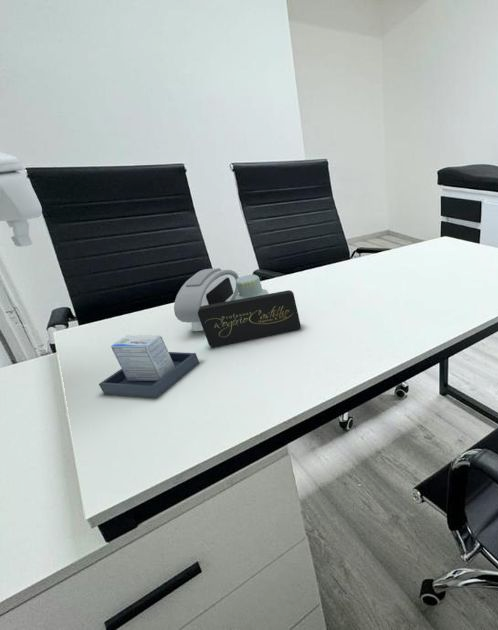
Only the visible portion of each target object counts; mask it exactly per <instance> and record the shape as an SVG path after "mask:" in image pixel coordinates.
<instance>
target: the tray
mask: <svg viewBox="0 0 498 630" xmlns="http://www.w3.org/2000/svg"><path fill="white" fill-rule="evenodd" d="M168 352H169V354H170V357H171V359H172V361H173V363H174V366H175V368H174V369H173V370H171V371H170V372H169V373H167V374H166V375H165V376H164V377H162V378H161V379H160V380H158V381H128V380H127V378H126V376H125V374H124V372H123V370H122V368H119V370H118V371H116V372H114V373H113V374H111V375H110V376H108V377H107V378H105V379H104V380H103V381H100V383H98V386H99V388H100V389H101V392H102V393H103V394H104V395H109V396H110V395H111V396H122V397H137V398H149V399H158V398H159V397H160V396H161V395H163V393H165V392H166V391H167V390H168V389H170V388H171V387H172V386H173V385H174V384H176V383H177V382H178V381H179V380H181V379H182V378H183V377H184V376H185V375H187V374H188V373H189V372H191V370H192V369H194V368H196V367H197V366H198V364H200V361H199V358H198V356H197V353H196V352H178V351H168Z"/></svg>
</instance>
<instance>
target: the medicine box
mask: <svg viewBox="0 0 498 630" xmlns="http://www.w3.org/2000/svg"><path fill="white" fill-rule="evenodd" d="M110 348H111V350H112V352H113V355H114V356H115V358H116V360H117V362H118V364H119V367H120V369H122V370H123V372H124V374H125V376H126V378H127V380H128V381H158V380H160V379H161V378H162V377H164V376H165V375H166V374H167V373H169V372H170V371H171V370H173V369H174V368H175V366H174V363H173V361H172V359H171V357H170V354H169V352H170V351H169V350H168V348H167V345H166V343H165V341H164V338H163V336H162V335H160V334H128V335H125V336H124V337H122V338H120V339H119V340H117V341H115V342H114V343H113V344H112V345H110Z"/></svg>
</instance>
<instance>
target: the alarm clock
mask: <svg viewBox="0 0 498 630" xmlns="http://www.w3.org/2000/svg"><path fill="white" fill-rule="evenodd" d="M238 278H240V276H239V275H238V273H237V272H236V271H235V270H232V269H221V268H220V267H218V268H205V269H201V270H199V271H198V272H196V273H194V274H193V275H192V276H191V277H189V278H188V279H187V280H186V281H185V282H184V283H183V284H182V286H181V287H180V289H179V290H178V292H177V294H176V296H175V300H174V304H173V305H174V306H173V311H174V315H175V317H176V319H177V320H178V321H180V322H181V323H191V328H192V331H193V332H204V330H203V327H202V325H201V322H200V319H199V316H198V310H199V308H200V307H201V306H205V305H210V304H216V303H221V302H227V301H232V300H236V299H235V297H236V296H237V295H238V294H239V292H238V288H237V285H236V280H237V279H238Z"/></svg>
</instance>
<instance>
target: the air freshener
mask: <svg viewBox="0 0 498 630" xmlns="http://www.w3.org/2000/svg"><path fill="white" fill-rule="evenodd" d="M236 285H237V288H238V292H239V293H238V295H237V296H236V297H235V299H236V300H238V299H243V298H249V297H255V296H260V295H266V294H270V293H269V292H268V289H264V288H263V287H262V283H261V280H260V277H259V276H258V275H256V274H247V275H241V276H239V278H238V279H237V280H236Z"/></svg>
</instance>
